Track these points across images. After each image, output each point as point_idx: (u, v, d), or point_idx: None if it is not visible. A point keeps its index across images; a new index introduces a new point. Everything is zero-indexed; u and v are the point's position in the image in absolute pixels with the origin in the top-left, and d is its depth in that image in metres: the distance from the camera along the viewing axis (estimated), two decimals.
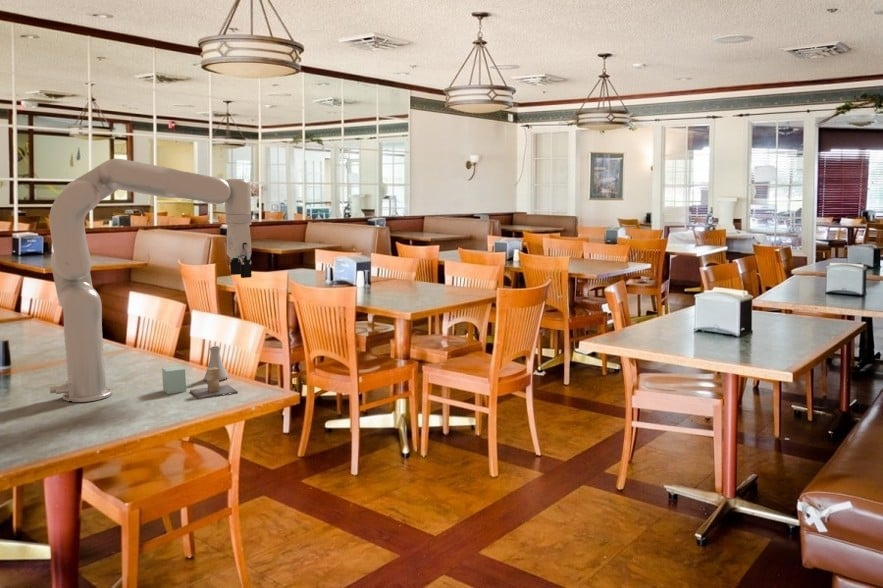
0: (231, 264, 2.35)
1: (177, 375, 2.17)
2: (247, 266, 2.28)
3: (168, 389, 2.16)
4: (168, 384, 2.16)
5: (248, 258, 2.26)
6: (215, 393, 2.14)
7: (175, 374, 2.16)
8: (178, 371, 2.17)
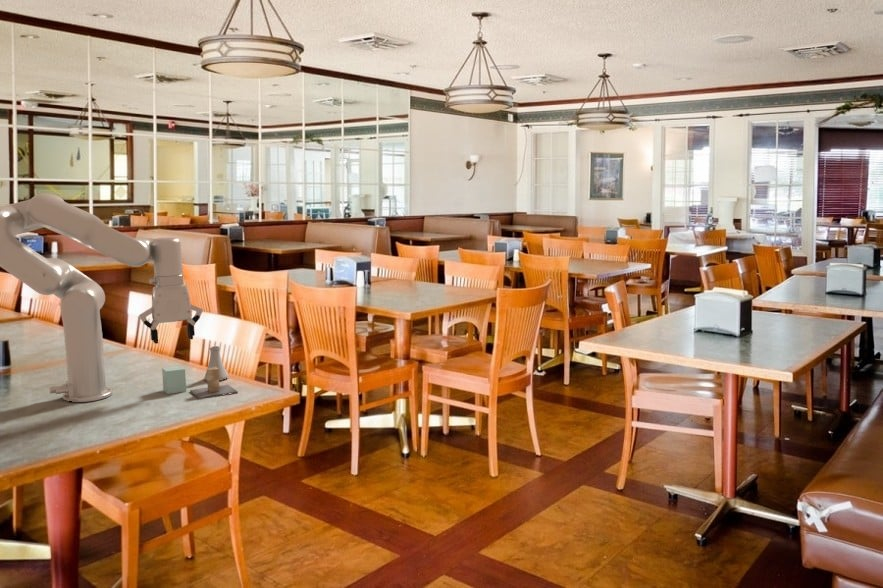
0: (157, 332, 2.13)
1: (177, 375, 2.17)
2: None
3: (168, 389, 2.16)
4: (168, 384, 2.16)
5: None
6: (215, 393, 2.14)
7: (175, 374, 2.16)
8: (178, 371, 2.17)
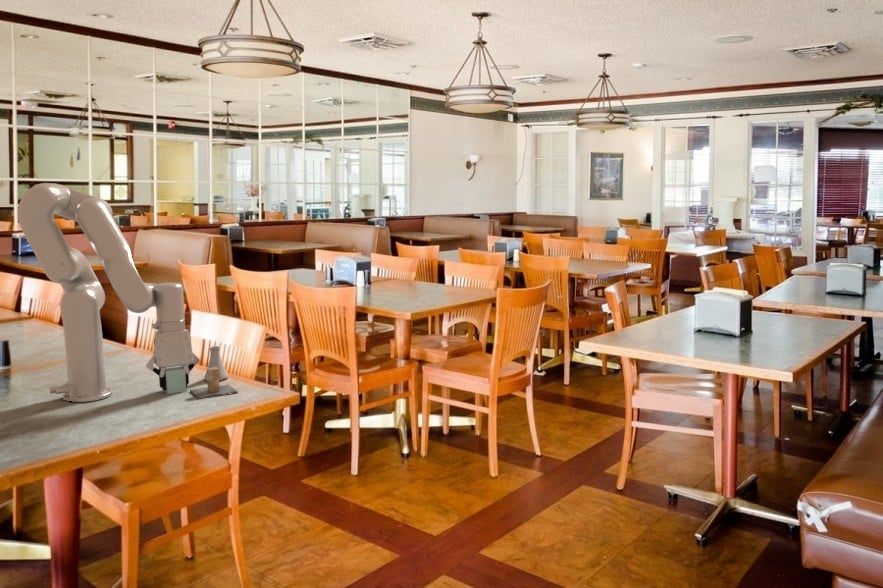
0: (165, 379, 2.16)
1: (177, 375, 2.17)
2: None
3: (168, 389, 2.16)
4: (168, 384, 2.16)
5: None
6: (215, 393, 2.14)
7: (175, 374, 2.16)
8: (178, 371, 2.17)
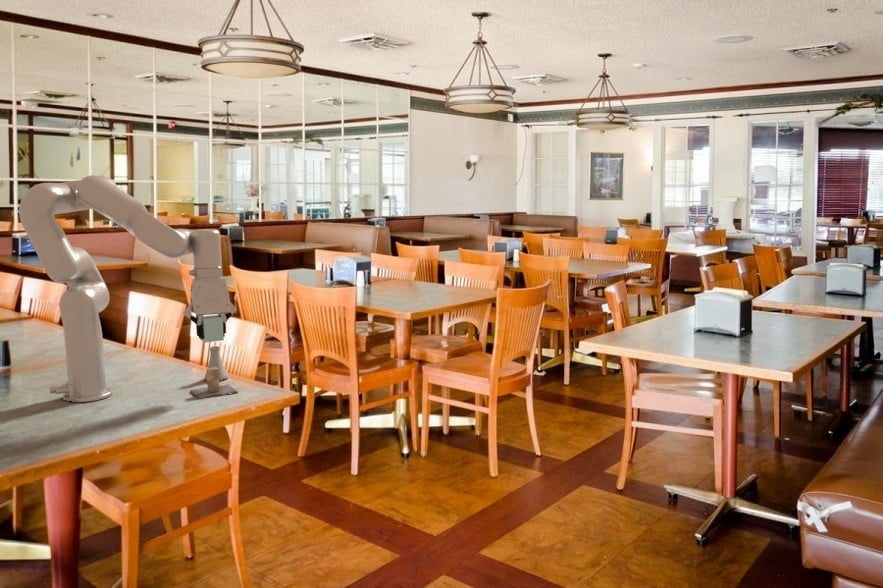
0: None
1: (215, 323, 2.13)
2: None
3: (206, 337, 2.12)
4: (205, 332, 2.11)
5: None
6: (215, 393, 2.14)
7: (212, 322, 2.12)
8: (216, 319, 2.13)
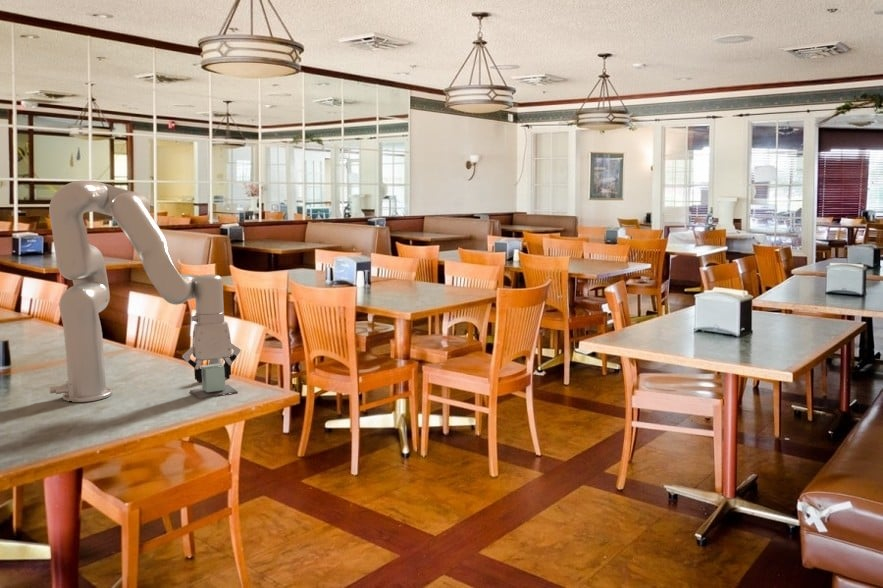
0: (201, 371, 2.13)
1: (216, 373, 2.15)
2: None
3: (207, 387, 2.14)
4: (207, 383, 2.13)
5: None
6: (215, 393, 2.14)
7: (214, 372, 2.14)
8: (217, 369, 2.15)
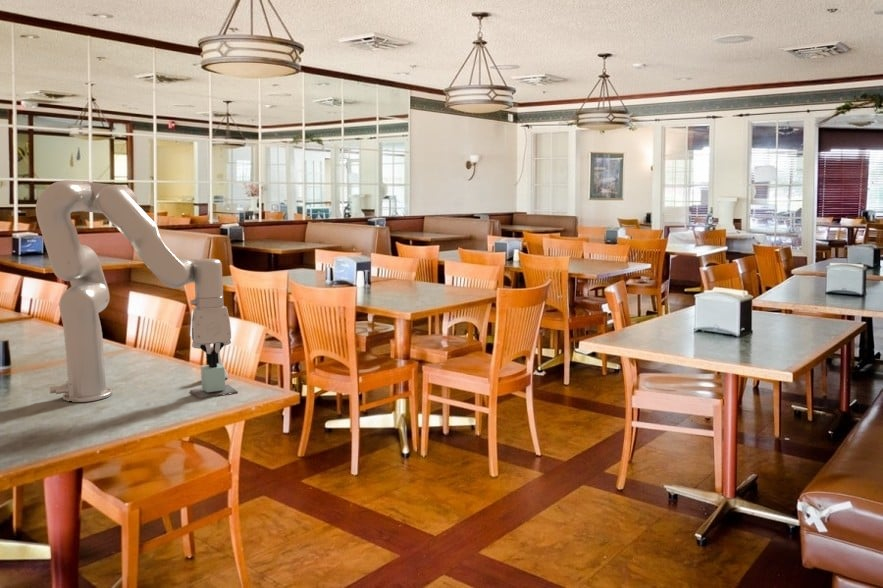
0: (212, 356, 2.15)
1: (216, 373, 2.15)
2: None
3: (207, 387, 2.14)
4: (207, 383, 2.13)
5: None
6: (215, 393, 2.14)
7: (214, 372, 2.14)
8: (217, 369, 2.15)
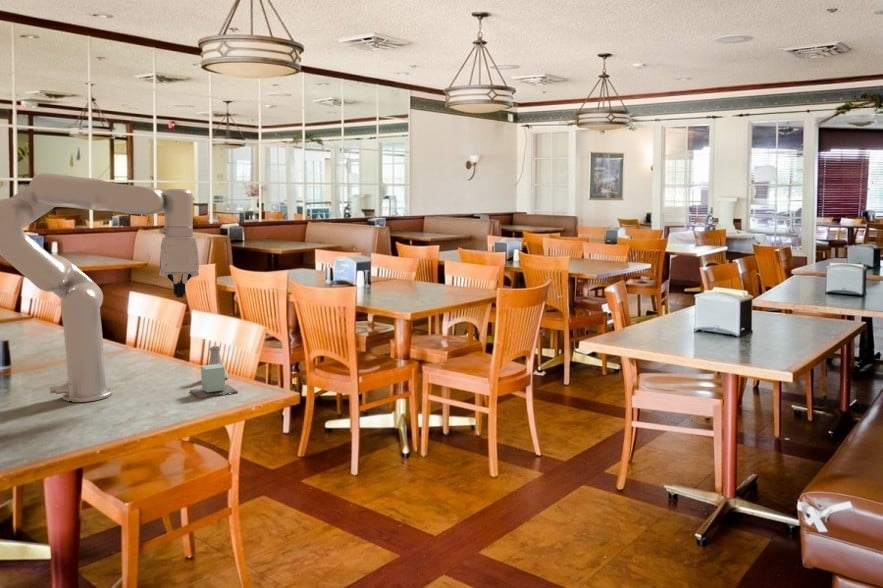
0: (179, 286, 2.16)
1: (216, 373, 2.15)
2: (184, 284, 2.18)
3: (207, 387, 2.14)
4: (207, 383, 2.13)
5: None
6: (215, 393, 2.14)
7: (214, 372, 2.14)
8: (217, 369, 2.15)
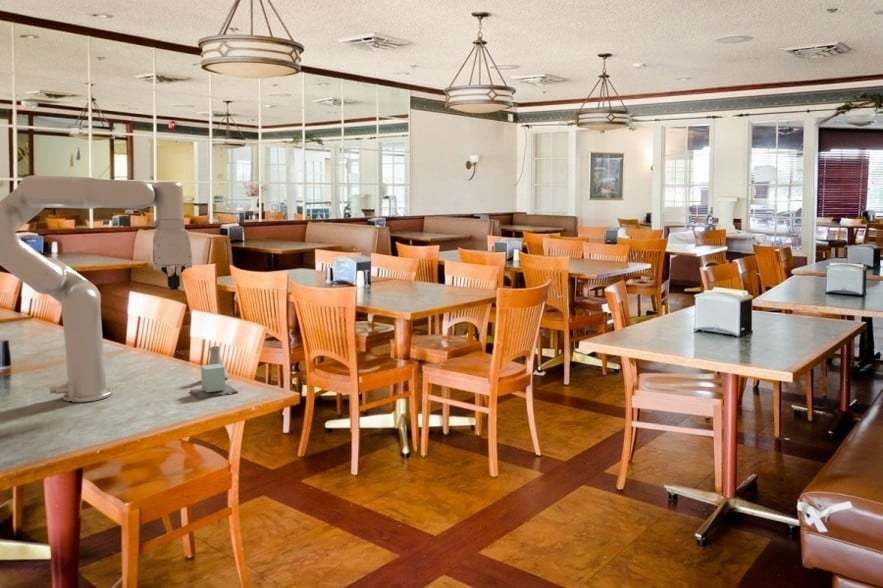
0: (173, 278, 2.17)
1: (216, 373, 2.15)
2: None
3: (207, 387, 2.14)
4: (207, 383, 2.13)
5: None
6: (215, 393, 2.14)
7: (214, 372, 2.14)
8: (217, 369, 2.15)
